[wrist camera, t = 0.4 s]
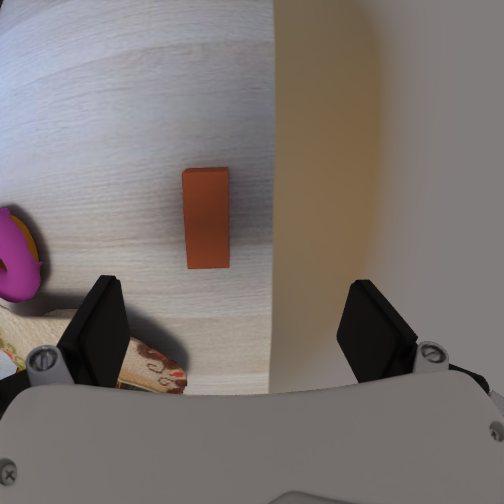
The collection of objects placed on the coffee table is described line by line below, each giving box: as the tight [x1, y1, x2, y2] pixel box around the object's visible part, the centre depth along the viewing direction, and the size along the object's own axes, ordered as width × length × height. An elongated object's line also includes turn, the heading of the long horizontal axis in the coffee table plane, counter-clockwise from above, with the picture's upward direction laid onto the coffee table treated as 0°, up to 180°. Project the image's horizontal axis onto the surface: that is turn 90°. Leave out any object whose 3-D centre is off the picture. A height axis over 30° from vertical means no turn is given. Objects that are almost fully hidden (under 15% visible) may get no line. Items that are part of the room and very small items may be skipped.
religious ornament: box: [0, 305, 187, 394], centre depth 21 cm, size 25×20×12 cm
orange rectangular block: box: [182, 167, 230, 269], centre depth 23 cm, size 8×4×2 cm, turn 179°
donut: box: [0, 207, 43, 303], centre depth 20 cm, size 10×10×5 cm
